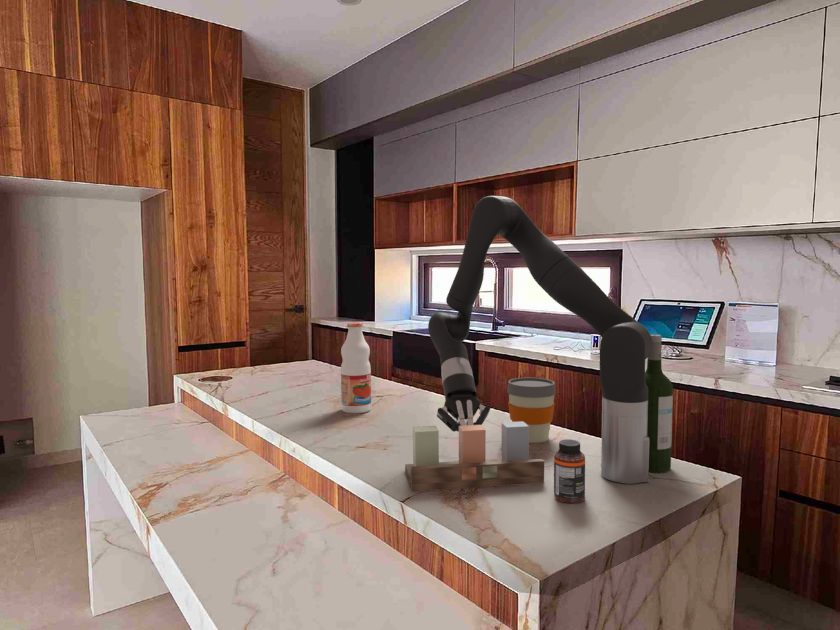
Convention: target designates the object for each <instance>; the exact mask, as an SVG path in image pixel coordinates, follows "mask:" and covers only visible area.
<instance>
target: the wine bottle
mask: <svg viewBox="0 0 840 630" xmlns="http://www.w3.org/2000/svg"><path fill="white" fill-rule="evenodd" d="M650 335H651V338H652V341H653V348H652V352H651V354H650V355H649V357H648V358H646V360H647V361H646V362H647V363H646V368H645V381H646V385H647V386H648V426H647V435H648V437H649V473H651V474H664V473H668V472H670V470H671V469H672V468H671V467H672V440H673V439H672V438H673V437H672V435H673V433H672V432H673V431H672V430H673V406H674V405H673V402H674V399H673V397H674V395H673V394H674V386H673V383H672V381H671V380H670V378H669V377H667V376H666V375H665V373H663V369H662V341H663V338H662V335H661V334H650Z"/></svg>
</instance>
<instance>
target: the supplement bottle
mask: <svg viewBox="0 0 840 630" xmlns="http://www.w3.org/2000/svg"><path fill="white" fill-rule="evenodd" d="M558 442H559V443H558V450H557V451H555V453H554V454H553V495H554V498H555V499H556V500H558V501H559V502H562V503H567V504H577V503H581V502H583V501H584V500H585V498H586V496H585V495H586V455H585V454H584V453H583V452H582V451H581V442H580V441H578V440H576V439H567V438H565V439H561V440H559V441H558Z"/></svg>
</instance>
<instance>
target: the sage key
mask: <svg viewBox="0 0 840 630" xmlns="http://www.w3.org/2000/svg"><path fill="white" fill-rule="evenodd" d="M439 433H440V432H439V429H438V427H437V426H436V425H422V426H421V425H420V426H419V425H418V426H412V457H413V458H412V459H413V460H412V461H413V463H412V464H413V466H430V465H439V462H440V457H439V456H440V455H439V454H440V451H439V450H440V448H439V447H440V445H439V444H440V443H439V440H440V438H439V437H440V436H439Z"/></svg>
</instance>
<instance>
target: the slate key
mask: <svg viewBox="0 0 840 630" xmlns="http://www.w3.org/2000/svg"><path fill="white" fill-rule="evenodd" d="M529 451H530V443H529V426H528V425H527V424H526V423H524V422H523V421H521V422H512V421H505V422H504V421H503V422H501V453H500V454H501V457H500V459H501V461H515V460H530V452H529Z"/></svg>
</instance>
